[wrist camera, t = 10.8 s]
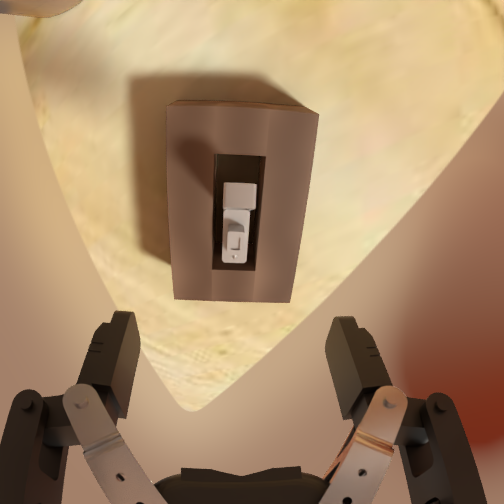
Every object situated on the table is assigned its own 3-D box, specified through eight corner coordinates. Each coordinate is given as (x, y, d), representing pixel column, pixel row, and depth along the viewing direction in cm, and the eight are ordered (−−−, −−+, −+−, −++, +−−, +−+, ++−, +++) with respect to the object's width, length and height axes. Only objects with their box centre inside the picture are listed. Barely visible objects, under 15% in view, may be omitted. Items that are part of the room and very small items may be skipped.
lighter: (244, 234, 27) (248, 296, 20) (223, 233, 27) (220, 295, 20) (250, 150, 23) (257, 187, 16) (227, 149, 23) (223, 185, 16)
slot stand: (180, 270, 28) (174, 299, 25) (177, 100, 21) (166, 106, 17) (283, 273, 29) (289, 302, 26) (305, 107, 22) (319, 114, 18)
